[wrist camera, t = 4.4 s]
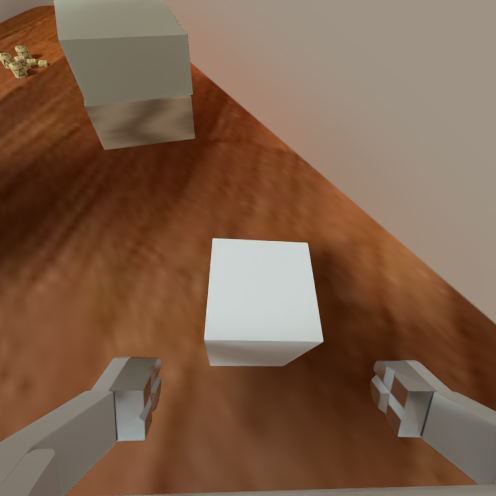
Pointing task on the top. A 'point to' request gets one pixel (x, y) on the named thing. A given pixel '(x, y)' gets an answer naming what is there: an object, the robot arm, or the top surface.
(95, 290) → the top surface
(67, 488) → the robot arm
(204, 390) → the top surface
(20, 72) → the beige lumpy cluster
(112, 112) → the birch block
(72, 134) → the top surface
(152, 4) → the sage block
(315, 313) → the grey block
